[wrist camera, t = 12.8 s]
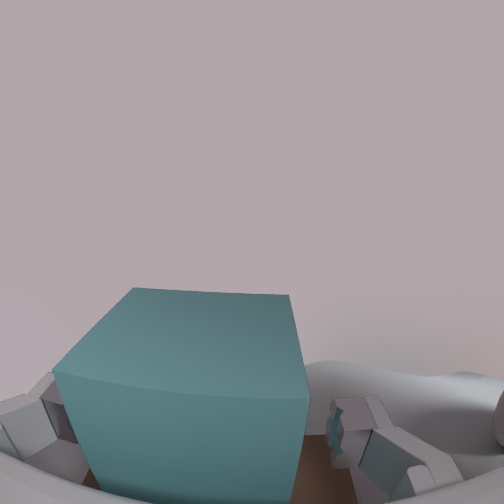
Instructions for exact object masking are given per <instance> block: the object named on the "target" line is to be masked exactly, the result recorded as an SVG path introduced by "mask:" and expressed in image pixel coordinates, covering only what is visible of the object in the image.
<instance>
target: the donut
mask: <svg viewBox="0 0 504 504" xmlns="http://www.w3.org/2000/svg"><path fill="white" fill-rule="evenodd" d="M493 432H494V435H495V437H496V439H497V441H498V442H499V443H500V445H501V446H504V391H503V393H502V395H501V396H500V399H499V401H498V404H497V407H496V409H495V412H494V419H493Z"/></svg>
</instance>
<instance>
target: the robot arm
mask: <svg viewBox="0 0 504 504" xmlns="http://www.w3.org/2000/svg"><path fill="white" fill-rule="evenodd" d="M330 411H331V416H330V417H329V418H328V419H327V424H326V440H327V445H328V446H330V447H331V451H330V459H331V463H332V467H333V469H345V468H356V467H359V469H360V470H361V471H362V472H363V473H364V474H365V475H366V476H367V477H368V478H369V479H371V480H372V481H373V482H374V483H375V484H376V485H377V486H378V487H379V488H381V489H382V490H383V491H384V492H385V493H386V494H387V495H388V496H390V497H391V499H390V500H389V502H387V503H382V504H504V465H503V466H501V467H498V468H496V469H494V470H492V471H489V472H487V473H484V474H482V475H479V476H477V477H474V478H471V479H469V480H466V481H464V479H463V477H462V475H461V473H460V471H459V470H458V468H457V466H456V464H455V462H454V461H453V459H452V457H451V456H450V455H448V454H446V453H444V452H442V451H440V450H439V449H437V448H435V447H433V446H431V445H430V444H428V443H426V442H424V441H423V440H421V439H419V438H417V437H416V436H414V435H412V434H410V433H409V432H407V431H405V430H403V429H402V428H400V427H398V426H393V424H392V422H391V420H390V418H389V416H388V414H387V412H386V410H385V408H384V406H383V404H382V402H381V400H380V398H379V397H378V396H377V395H376V396H367V397H360V398H347V399H333V400H332V402H331V406H330ZM58 438H59V439H62V440H65V441H69V442H72V443H76V444H78V443H79V442H78V440H77V438H76V435H75V433H74V430H73V428H72V425H71V423H70V420H69V418H68V415H67V413H66V410H65V407H64V405H63V402H62V399H61V396H60V393H59V390H58V387H57V384H56V381H55V378H54V375H53V372H48V373H47V374H46V375H45V376H44V377H43V378H42V379H41V380H40V381H39V382H38V384H37V385H36V386H35V387H34V388H33V389H32V390H31V391H30V392H29V393H28V394H27V395H26V394H22V395H19V396H16V397H14V398H11V399H8V400H5V401H2V402H0V504H154V503H149V502H144V501H139V500H135V499H130V498H126V497H122V496H118V495H114V494H111V493H107V492H104V491H100V490H97V489H93V488H90V487H87V486H84V485H81V484H78V483H75V482H72V481H69V480H66V479H63V478H61V477H58V476H55V475H53V474H50V473H48V472H45V471H43V470H40V469H38V468H36V467H33V466H31V465H29V464H27V463H24V462H22V461H23V460H25V459H27V458H28V457H30V456H32V455H33V454H35V453H37V452H38V451H40V450H42V449H43V448H45V447H47V446H48V445H50V444H52V443H53V442H55V441H56V440H58Z"/></svg>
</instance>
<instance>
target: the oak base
mask: <svg viewBox="0 0 504 504" xmlns="http://www.w3.org/2000/svg"><path fill="white" fill-rule="evenodd" d="M330 451H331V447H330V446H328V445H327V440H326V435H309V436H304V438H303V443H302V448H301V453H300V458H299V463H298V468H297V472H296V477H295V481H294V486H293V490H292V494H291V498H290V503H289V504H358V502H357V498H356V494H355V490H354V486H353V482H352V478H351V474H350V471H349V468H345V469H333V467H332V463H331V459H330ZM82 485H84V486H87V487H90V488H93V489H97V490H100V491H102V490H101V488H100V486H99V484H98V482H97V480H96V478H95V476H94V474H93V472H92V470H91V468H90V469H89V471H88V473H87V475H86V477H85V479H84V481H83V483H82Z"/></svg>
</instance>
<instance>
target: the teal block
mask: <svg viewBox="0 0 504 504" xmlns="http://www.w3.org/2000/svg"><path fill="white" fill-rule="evenodd" d="M52 372H53V375H54V378H55V381H56V384H57V387H58V390H59V393H60V396H61V399H62V402H63V405H64V407H65V410H66V413H67V415H68V418H69V420H70V423H71V425H72V428H73V430H74V433H75V435H76V438H77V440H78V442H79V444H80V447H81V449H82V451H83V453H84V456H85V458H86V460H87V462H88V464H89V466H90V468H91V470H92V472H93V474H94V476H95V478H96V480H97V482H98V484H99V486H100V488H101V490H102V491H104V492H107V493H111V494H114V495H118V496H122V497H126V498H130V499H135V500H139V501H144V502H149V503H154V504H289V503H290V498H291V494H292V490H293V486H294V481H295V477H296V472H297V468H298V463H299V458H300V453H301V448H302V443H303V438H304V433H305V428H306V422H307V417H308V411H309V405H310V399H311V397H310V392H309V387H308V382H307V378H306V373H305V368H304V364H303V358H302V354H301V349H300V344H299V340H298V335H297V330H296V325H295V321H294V316H293V312H292V307H291V303H290V298H289V295H274V294H244V293H218V292H199V291H179V290H164V289H147V288H132V289H131V290H130V291H129V292H128V293H127V294H126V295H125V296H124V297H123V298H122V299H121V300H120V301H119V302H118V303H117V304H116V305H115V306H114V307H113V308H112V309H111V310H110V311H109V312H108V313H107V314H106V315H105V316H104V317H103V318H102V319H101V320H100V321H99V322H98V323H97V324H96V325H95V326H94V327H93V328H92V329H91V330H90V331H89V332H88V333H87V334H86V335H85V336H84V337H83V338H82V339H81V340H80V341H79V342H78V343H77V344H76V345H75V346H74V347H73V348H72V349H71V350H70V351H69V353H67V354H66V355H65V357H64V358H63V359H62V360H61V361H60V362H59V363H58V364H57V365H56V366H55V367H54V368H53V369H52Z"/></svg>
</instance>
